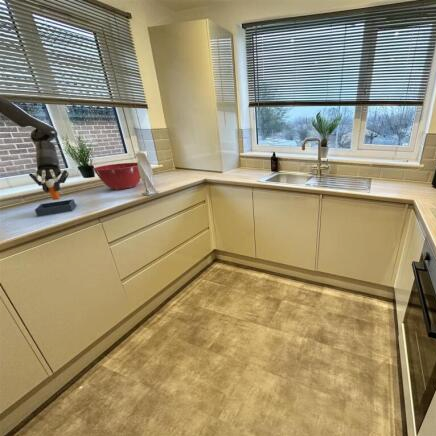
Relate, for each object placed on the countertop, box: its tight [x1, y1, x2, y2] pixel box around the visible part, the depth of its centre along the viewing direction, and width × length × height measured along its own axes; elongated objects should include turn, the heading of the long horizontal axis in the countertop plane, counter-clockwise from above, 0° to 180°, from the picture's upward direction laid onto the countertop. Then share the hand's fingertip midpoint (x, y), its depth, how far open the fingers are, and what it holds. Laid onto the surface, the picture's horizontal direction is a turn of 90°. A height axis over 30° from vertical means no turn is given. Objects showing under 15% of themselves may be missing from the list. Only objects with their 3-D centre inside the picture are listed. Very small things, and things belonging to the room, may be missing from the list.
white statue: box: [133, 148, 160, 197], centre depth 148 cm, size 8×8×28 cm
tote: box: [34, 199, 77, 217], centre depth 124 cm, size 13×11×4 cm
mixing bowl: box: [92, 162, 141, 191], centre depth 168 cm, size 28×28×15 cm
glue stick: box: [45, 180, 61, 201], centre depth 111 cm, size 3×3×8 cm
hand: (51, 190), depth 109 cm, fingers closed on glue stick, 3 cm apart
